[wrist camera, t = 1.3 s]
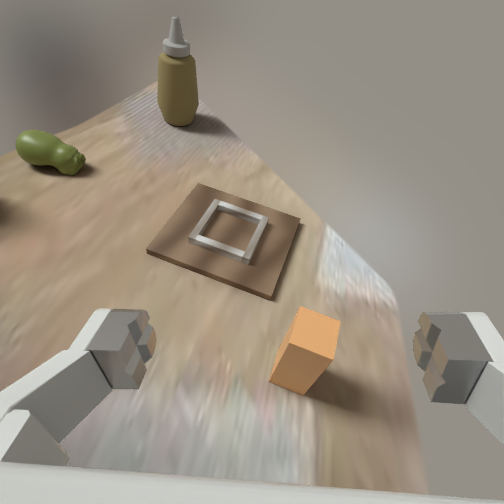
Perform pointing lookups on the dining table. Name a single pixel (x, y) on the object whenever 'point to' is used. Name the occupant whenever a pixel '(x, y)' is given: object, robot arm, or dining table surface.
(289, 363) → the orange peg
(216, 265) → the collar board
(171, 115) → the squeeze bottle
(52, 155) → the pear
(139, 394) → the dining table surface
